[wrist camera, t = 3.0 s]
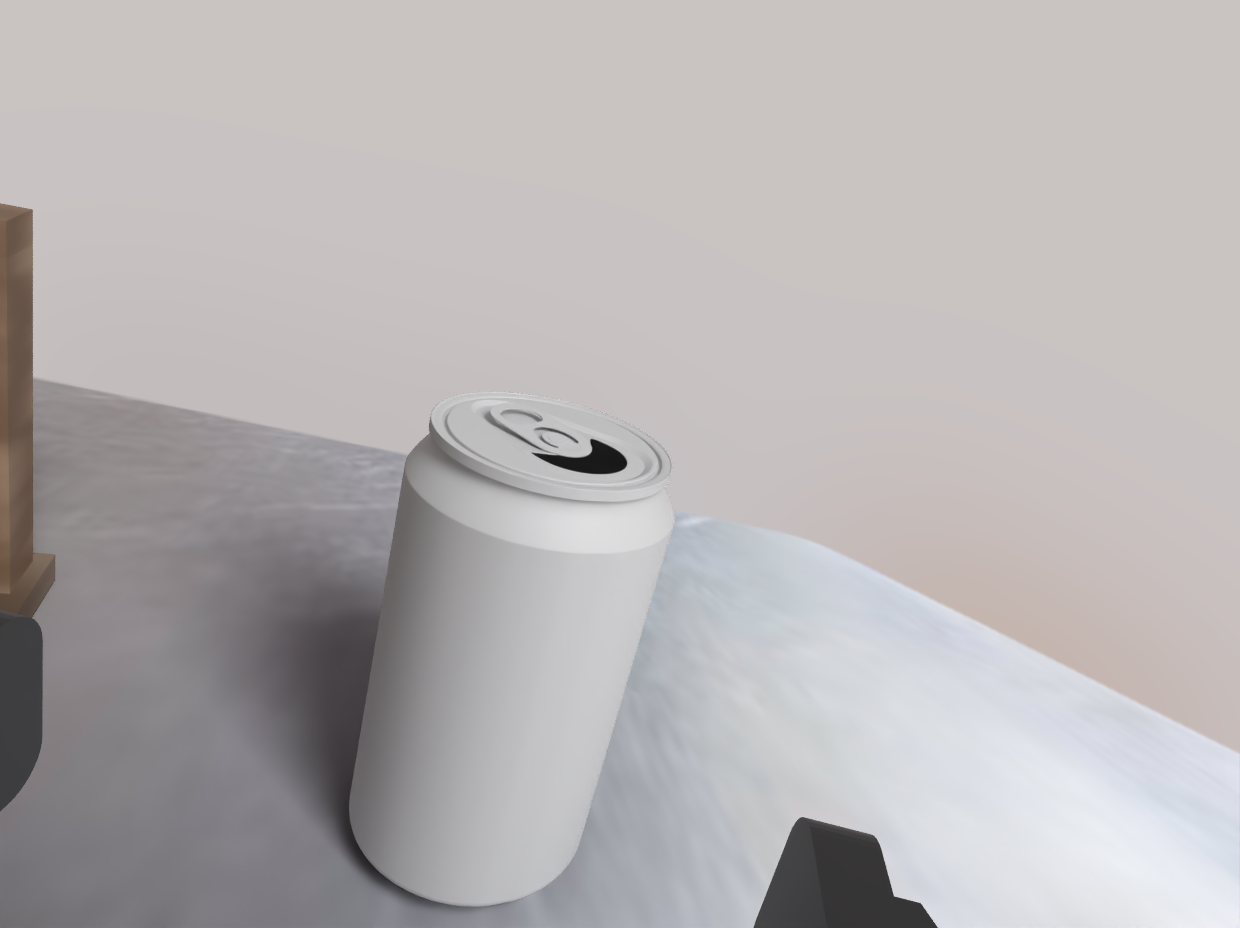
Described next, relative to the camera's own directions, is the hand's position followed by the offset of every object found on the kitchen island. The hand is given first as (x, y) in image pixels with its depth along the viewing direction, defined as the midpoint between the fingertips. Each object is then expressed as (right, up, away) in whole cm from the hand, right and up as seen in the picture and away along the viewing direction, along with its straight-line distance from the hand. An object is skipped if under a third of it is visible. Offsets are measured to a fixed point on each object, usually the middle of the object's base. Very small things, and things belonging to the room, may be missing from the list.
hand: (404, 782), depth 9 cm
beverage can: (-2, -7, +15) cm, 17 cm away
